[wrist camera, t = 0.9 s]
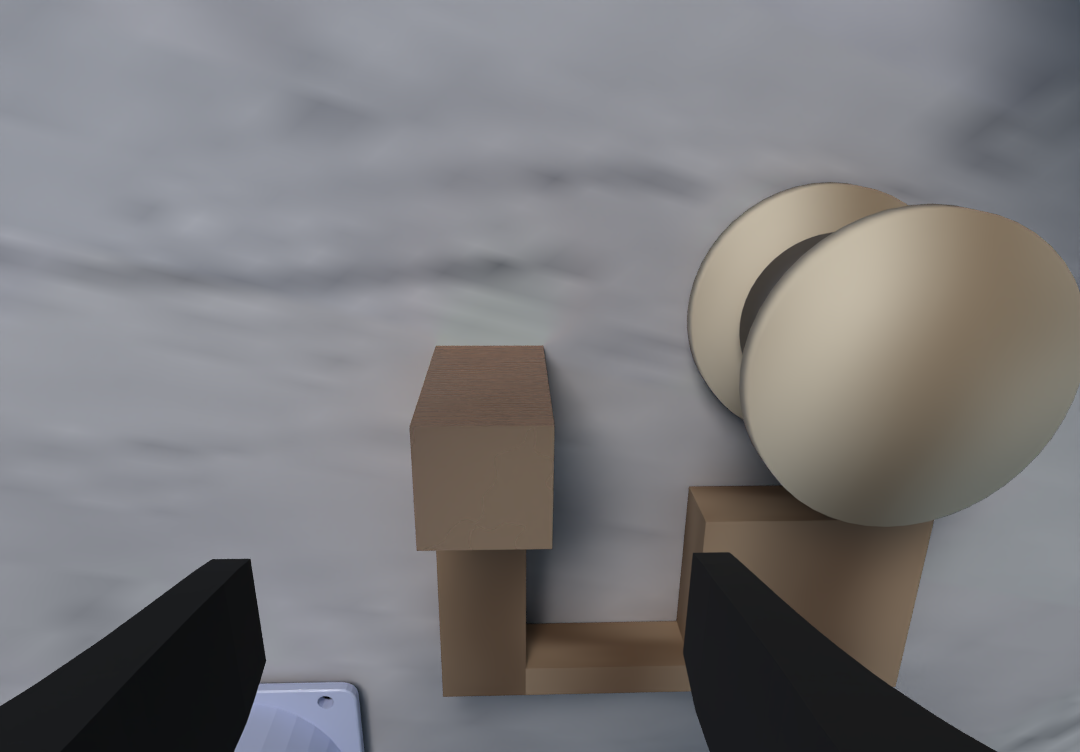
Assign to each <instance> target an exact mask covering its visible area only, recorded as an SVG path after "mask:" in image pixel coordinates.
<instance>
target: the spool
mask: <svg viewBox="0 0 1080 752" xmlns="http://www.w3.org/2000/svg"><path fill="white" fill-rule="evenodd" d="M687 329H688V338H689V344H690V348H691V352H692V355H693V358H694V361H695V363H696V365H697V368H698V370H699V372H700V374H701V375H702V377H703V379H704V380H705V382H706V383H707V385H708V386H709V387H710V389H711V390H712V392H713V393H714V394H715V395H716V396H717V398H718V399H719V400H720V401H721V402H722V404H724V405H725V406H726V407H727V408H728V409H729V410H730V411H731V412H732V413H734V414H735V415H737V416H738V417H740V418H741V419H743V420H744V423H745V427H746V430H747V432H748V434H749V437H750V439H751V442H752V444H753V446H754V447H755V449H756V451H757V452H758V454H759V455H760V457H761V459H762V460H763V462H764V463H765V464H766V466H767V467H768V468H769V470H770V471H771V472H772V474H773V475H774V476H775V477H776V479H777V480H778V481H779V482H780V483H781V485H782V486H783V487H784V488H785V489H786V490H787V491H789V492H790V493H791V494H792V495H793V496H794V497H795V498H797V499H798V500H799V501H801V502H802V503H804V504H805V505H807V506H809V507H810V508H812V509H813V510H815V511H818V512H820V513H822V514H824V515H826V516H829V517H831V518H834V519H838V520H841V521H844V522H847V523H853V524H859V525H865V526H880V527H892V526H906V525H912V524H918V523H923V522H928V521H932V520H935V519H938V518H942V517H945V516H948V515H951V514H953V513H956V512H958V511H961V510H963V509H966V508H968V507H970V506H972V505H974V504H975V503H977V502H979V501H981V500H983V499H985V498H987V497H988V496H990V495H991V494H993V493H994V492H996V491H997V490H999V489H1000V488H1002V487H1003V486H1005V485H1006V484H1007V483H1008V482H1010V481H1011V480H1012V479H1013V478H1015V477H1016V476H1017V475H1018V474H1019V473H1021V472H1022V471H1023V470H1024V469H1025V468H1026V467H1027V466H1028V465H1029V464H1030V463H1031V462H1032V461H1033V460H1034V459H1035V458H1036V457H1037V456H1038V455H1039V454H1040V452H1041V451H1042V450H1043V449H1044V447H1045V446H1046V445H1047V444H1048V442H1049V441H1050V440H1051V439H1052V437H1053V436H1054V434H1055V433H1056V431H1057V429H1058V428H1059V426H1060V425H1061V423H1062V422H1063V420H1064V418H1065V416H1066V414H1067V412H1068V410H1069V408H1070V406H1071V404H1072V402H1073V400H1074V398H1075V395H1076V392H1077V389H1078V386H1079V384H1080V292H1079V289H1078V286H1077V284H1076V281H1075V279H1074V277H1073V275H1072V274H1071V272H1070V270H1069V269H1068V267H1067V265H1066V263H1065V262H1064V261H1063V259H1062V258H1061V257H1060V256H1059V255H1058V254H1057V252H1056V251H1055V250H1054V249H1053V248H1052V246H1050V245H1049V244H1048V243H1047V242H1046V241H1044V240H1043V239H1042V238H1041V237H1040V236H1038V235H1037V234H1036V233H1034V232H1033V231H1031V230H1029V229H1028V228H1026V227H1024V226H1023V225H1021V224H1019V223H1017V222H1015V221H1012V220H1010V219H1007V218H1005V217H1002V216H1000V215H996V214H992V213H988V212H983V211H979V210H974V209H969V208H964V207H959V206H954V205H942V204H921V205H907V204H905V203H904V202H902V201H900V200H898V199H897V198H895V197H893V196H891V195H889V194H886V193H883V192H881V191H878V190H875V189H870V188H866V187H862V186H857V185H852V184H847V183H834V182H827V183H812V184H807V185H802V186H797V187H794V188H791V189H788V190H785V191H782V192H779V193H777V194H774V195H772V196H770V197H768V198H766V199H764V200H762V201H761V202H759V203H757V204H756V205H754V206H753V207H751V208H750V209H748V210H747V211H745V212H744V213H743V214H742V215H740V216H739V217H738V218H737V219H736V220H734V221H733V222H732V223H731V224H730V225H729V226H728V227H727V228H726V229H725V231H724V232H723V233H722V234H721V235H720V236H719V237H718V239H717V240H716V241H715V243H714V244H713V245H712V247H711V248H710V250H709V251H708V253H707V255H706V256H705V258H704V260H703V262H702V263H701V266H700V268H699V270H698V273H697V275H696V277H695V280H694V283H693V287H692V290H691V294H690V299H689V305H688V315H687Z"/></svg>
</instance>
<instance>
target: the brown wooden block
mask: <svg viewBox="0 0 1080 752" xmlns="http://www.w3.org/2000/svg"><path fill="white" fill-rule="evenodd" d="M554 427H555V426H554V419H553V412H552V405H551V397H550V390H549V383H548V376H547V369H546V362H545V355H544V348H543V346H436V347H435V350H434V353H433V356H432V359H431V362H430V365H429V368H428V372H427V375H426V378H425V381H424V384H423V387H422V390H421V393H420V396H419V399H418V402H417V405H416V409H415V412H414V415H413V418H412V421H411V424H410V443H411V460H412V477H413V495H414V512H415V529H416V546H417V551H440V550H513V549H552V533H553V480H554Z"/></svg>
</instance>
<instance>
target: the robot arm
mask: <svg viewBox="0 0 1080 752" xmlns="http://www.w3.org/2000/svg"><path fill="white" fill-rule="evenodd" d="M683 656H684V660H685V665H686V670H687V675H688V679H689V684H690V688H691V693H692V697H693V701H694V705H695V710H696V713H697V716H698V719H699V722H700V725H701V728H702V731H703V734H704V737H705V739H706V742H707V745H708V748H709V751H710V752H997V751H995V750H993V749H991V748H990V747H988V746H986V745H984V744H982V743H981V742H979V741H977V740H975V739H974V738H972V737H970V736H968V735H967V734H965V733H963V732H962V731H960V730H958V729H957V728H955V727H953V726H952V725H950V724H948V723H947V722H945V721H943V720H942V719H940V718H939V717H937V716H935V715H934V714H932V713H931V712H929V711H928V710H926V709H925V708H923V707H922V706H920V705H919V704H917V703H916V702H914V701H913V700H911V699H910V698H908V697H907V696H905V695H904V694H902V693H901V692H899V691H898V690H896V689H895V688H893V687H892V686H890V685H889V684H887V683H886V682H885V681H883V680H882V679H880V678H879V677H878V676H876V675H875V674H873V673H872V672H871V671H869V670H868V669H867V668H866V667H864V666H863V665H862V664H860V663H859V662H858V661H856V660H855V659H854V658H852V657H851V656H850V655H848V654H847V653H846V652H845V651H843V650H842V649H841V648H839V647H838V646H837V645H836V644H834V643H833V642H832V641H831V640H829V639H828V638H827V637H826V636H824V635H823V634H822V633H821V632H820V631H818V630H817V629H816V628H815V627H814V626H812V625H811V624H810V623H809V622H808V621H806V620H805V619H804V618H803V617H802V616H801V615H799V614H798V613H797V612H796V611H795V610H794V609H793V608H791V607H790V606H789V605H788V604H787V603H786V602H785V601H783V600H782V599H781V598H780V597H779V596H778V595H777V594H776V593H775V592H773V591H772V590H771V589H770V588H769V587H768V586H767V585H766V584H765V583H763V582H762V581H761V580H760V579H759V578H758V577H757V576H756V575H755V574H754V573H752V572H751V571H750V570H749V569H748V568H747V567H746V566H745V565H744V564H743V563H741V562H740V561H739V560H738V559H737V558H736V557H734V556H733V555H732V554H731V553H730V552H707V553H693V556H692V566H691V576H690V586H689V596H688V606H687V616H686V626H685V636H684V647H683ZM265 663H266V658H265V651H264V645H263V638H262V631H261V625H260V618H259V612H258V605H257V599H256V592H255V586H254V579H253V573H252V566H251V560H250V559H212V560H210V561H209V562H207V563H206V564H204V565H203V566H201V567H200V568H198V569H197V570H195V571H194V572H193V573H191V574H190V575H189V576H187V577H186V578H184V579H183V580H182V581H180V582H179V583H178V584H176V585H175V586H174V587H172V588H171V589H170V590H168V591H167V592H166V593H164V594H163V595H162V596H160V597H159V598H157V599H156V600H155V601H153V602H152V603H151V604H149V605H148V606H147V607H145V608H144V609H143V610H141V611H140V612H139V613H137V614H136V615H134V616H133V617H132V618H130V619H129V620H128V621H126V622H125V623H123V624H122V625H121V626H119V627H118V628H117V629H115V630H114V631H113V632H111V633H110V634H108V635H107V636H106V637H104V638H103V639H101V640H100V641H99V642H97V643H96V644H94V645H93V646H91V647H90V648H88V649H87V650H85V651H84V652H82V653H81V654H79V655H78V656H76V657H75V658H74V659H72V660H71V661H69V662H68V663H66V664H65V665H63V666H62V667H60V668H59V669H57V670H56V671H54V672H53V673H51V674H50V675H48V676H47V677H46V678H44V679H43V680H41V681H40V682H38V683H37V684H35V685H33V686H32V687H30V688H29V689H27V690H26V691H24V692H22V693H21V694H19V695H18V696H16V697H14V698H13V699H11V700H10V701H8V702H6V703H5V704H3V705H1V706H0V752H364V742H363V732H362V722H361V712H360V702H359V693H358V690H357V689H356V687H355V686H354V685H352V684H350V683H346V682H318V683H271V684H259V683H260V680H261V676H262V673H263V669H264V666H265ZM323 696H328V697H330V698H332V699H325V698H323Z"/></svg>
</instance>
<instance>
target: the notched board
mask: <svg viewBox="0 0 1080 752" xmlns="http://www.w3.org/2000/svg"><path fill="white" fill-rule="evenodd" d="M933 522H934V520H932V521H928V522H923V523H918V524H912V525H906V526H892V527H880V526H865V525H859V524H853V523H847V522H844V521H841V520H838V519H834V518H831V517H829V516H826V515H824V514H822V513H820V512H818V511H815V510H813V509H812V508H810V507H809V506H807V505H805V504H804V503H802V502H801V501H799V500H798V499H797V498H795V497H794V496H793V495H792V494H791V493H790V492H789V491H787V490H786V489H785V488H784V487H783V486H702V487H689V493H688V503H687V514H686V525H685V535H684V546H683V557H682V568H681V578H680V589H679V600H678V611H677V621H657V622H602V623H546V624H526V549H513V550H440V551H436V555H437V577H438V598H439V619H440V641H441V662H442V683H443V697H453V696H498V695H544V694H589V693H635V692H680V691H691V688H690V684H689V679H688V675H687V670H686V665H685V660H684V656H683V647H684V636H685V626H686V616H687V606H688V596H689V586H690V576H691V566H692V556H693V553H707V552H730V553H731V554H732V555H733V556H734V557H736V558H737V559H738V560H739V561H740V562H741V563H743V564H744V565H745V566H746V567H747V568H748V569H749V570H750V571H751V572H752V573H754V574H755V575H756V576H757V577H758V578H759V579H760V580H761V581H762V582H763V583H765V584H766V585H767V586H768V587H769V588H770V589H771V590H772V591H773V592H775V593H776V594H777V595H778V596H779V597H780V598H781V599H782V600H783V601H785V602H786V603H787V604H788V605H789V606H790V607H791V608H793V609H794V610H795V611H796V612H797V613H798V614H799V615H801V616H802V617H803V618H804V619H805V620H806V621H808V622H809V623H810V624H811V625H812V626H814V627H815V628H816V629H817V630H818V631H820V632H821V633H822V634H823V635H824V636H826V637H827V638H828V639H829V640H831V641H832V642H833V643H834V644H836V645H837V646H838V647H839V648H841V649H842V650H843V651H845V652H846V653H847V654H848V655H850V656H851V657H852V658H854V659H855V660H856V661H858V662H859V663H860V664H862V665H863V666H864V667H866V668H867V669H868V670H869V671H871V672H872V673H873V674H875V675H876V676H878V677H879V678H880V679H882V680H883V681H885V682H886V683H887V684H889V685H890V686H892V687H895V686H896V682H897V677H898V673H899V669H900V664H901V660H902V656H903V652H904V647H905V643H906V639H907V634H908V630H909V626H910V621H911V617H912V613H913V608H914V604H915V600H916V595H917V591H918V587H919V583H920V578H921V574H922V570H923V565H924V561H925V557H926V552H927V548H928V544H929V539H930V535H931V531H932V526H933Z"/></svg>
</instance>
